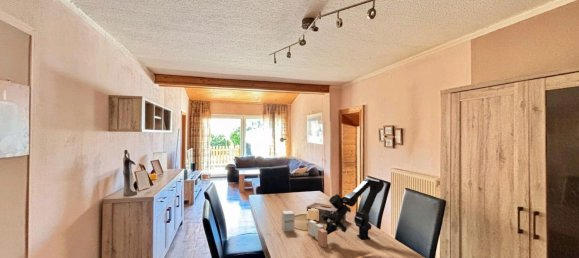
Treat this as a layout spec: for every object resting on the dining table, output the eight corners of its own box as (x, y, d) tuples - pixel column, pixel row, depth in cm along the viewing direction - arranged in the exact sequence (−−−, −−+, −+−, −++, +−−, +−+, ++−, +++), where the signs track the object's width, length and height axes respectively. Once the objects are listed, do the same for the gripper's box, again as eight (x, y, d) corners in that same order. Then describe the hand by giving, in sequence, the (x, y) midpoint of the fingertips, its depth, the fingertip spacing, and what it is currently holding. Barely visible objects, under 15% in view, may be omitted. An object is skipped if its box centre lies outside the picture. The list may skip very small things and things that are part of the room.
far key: (312, 233, 173) (312, 220, 173) (316, 235, 168) (316, 222, 169) (308, 233, 171) (308, 220, 172) (312, 236, 167) (312, 223, 167)
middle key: (319, 237, 166) (319, 223, 166) (323, 240, 161) (323, 226, 162) (315, 238, 164) (315, 224, 165) (319, 241, 160) (319, 227, 160)
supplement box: (283, 233, 175) (283, 213, 175) (281, 229, 182) (281, 210, 183) (294, 232, 177) (294, 213, 177) (291, 228, 184) (292, 210, 184)
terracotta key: (322, 243, 157) (322, 228, 157) (327, 246, 153) (327, 231, 153) (317, 244, 156) (318, 229, 156) (322, 247, 151) (322, 232, 151)
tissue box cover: (306, 219, 204) (306, 206, 204) (315, 214, 216) (315, 202, 216) (338, 226, 190) (338, 212, 190) (345, 220, 202) (345, 207, 202)
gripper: (323, 201, 166) (308, 221, 161) (342, 209, 150) (326, 232, 144) (333, 212, 170) (319, 232, 164) (353, 221, 153) (338, 243, 148)
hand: (325, 234), depth 155 cm, fingers closed, pressing on terracotta key
